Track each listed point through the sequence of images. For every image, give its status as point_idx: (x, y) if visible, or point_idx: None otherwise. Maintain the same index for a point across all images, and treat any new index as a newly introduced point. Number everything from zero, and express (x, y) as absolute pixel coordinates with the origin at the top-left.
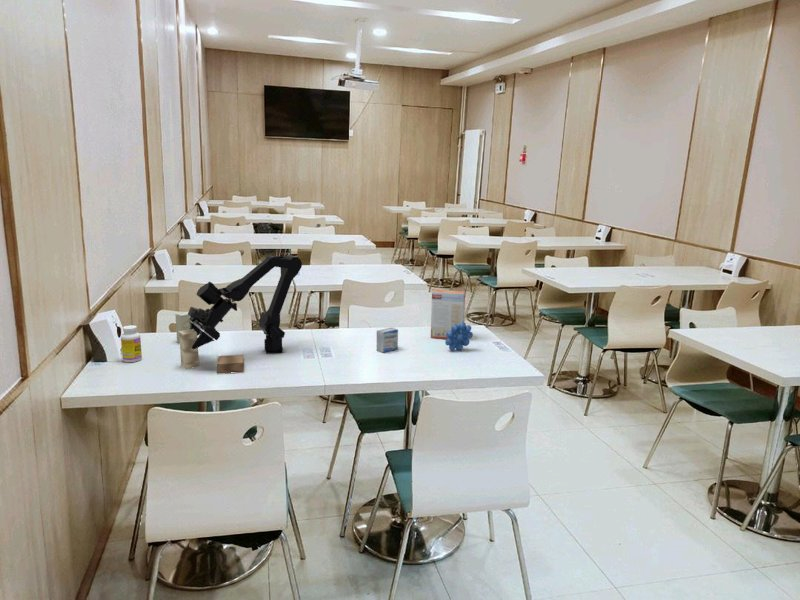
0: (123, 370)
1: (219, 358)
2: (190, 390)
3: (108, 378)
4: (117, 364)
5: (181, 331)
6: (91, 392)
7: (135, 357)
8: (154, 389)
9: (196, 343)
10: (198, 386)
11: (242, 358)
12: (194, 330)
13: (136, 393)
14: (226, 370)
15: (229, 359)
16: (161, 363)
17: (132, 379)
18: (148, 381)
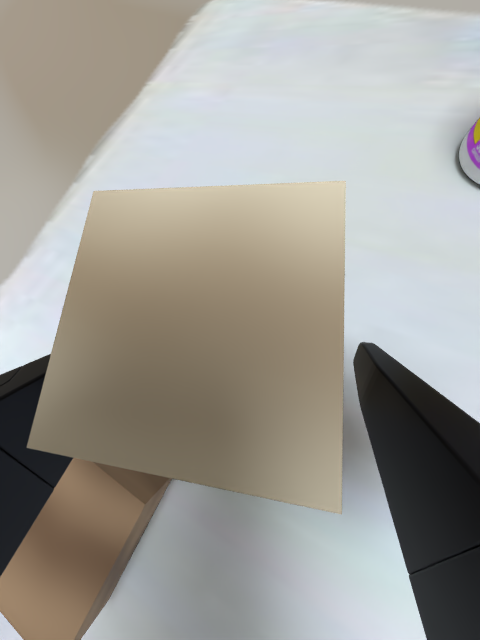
0: (360, 117)
1: (100, 480)
2: (27, 261)
3: (298, 74)
4: (461, 103)
5: (293, 215)
6: (205, 39)
7: (476, 143)
8: (109, 176)
9: None
10: (35, 293)
11: (5, 606)
12: (199, 482)
13: (116, 132)
14: None
15: (46, 521)
16: (368, 255)
17: (238, 134)
18: (185, 173)
